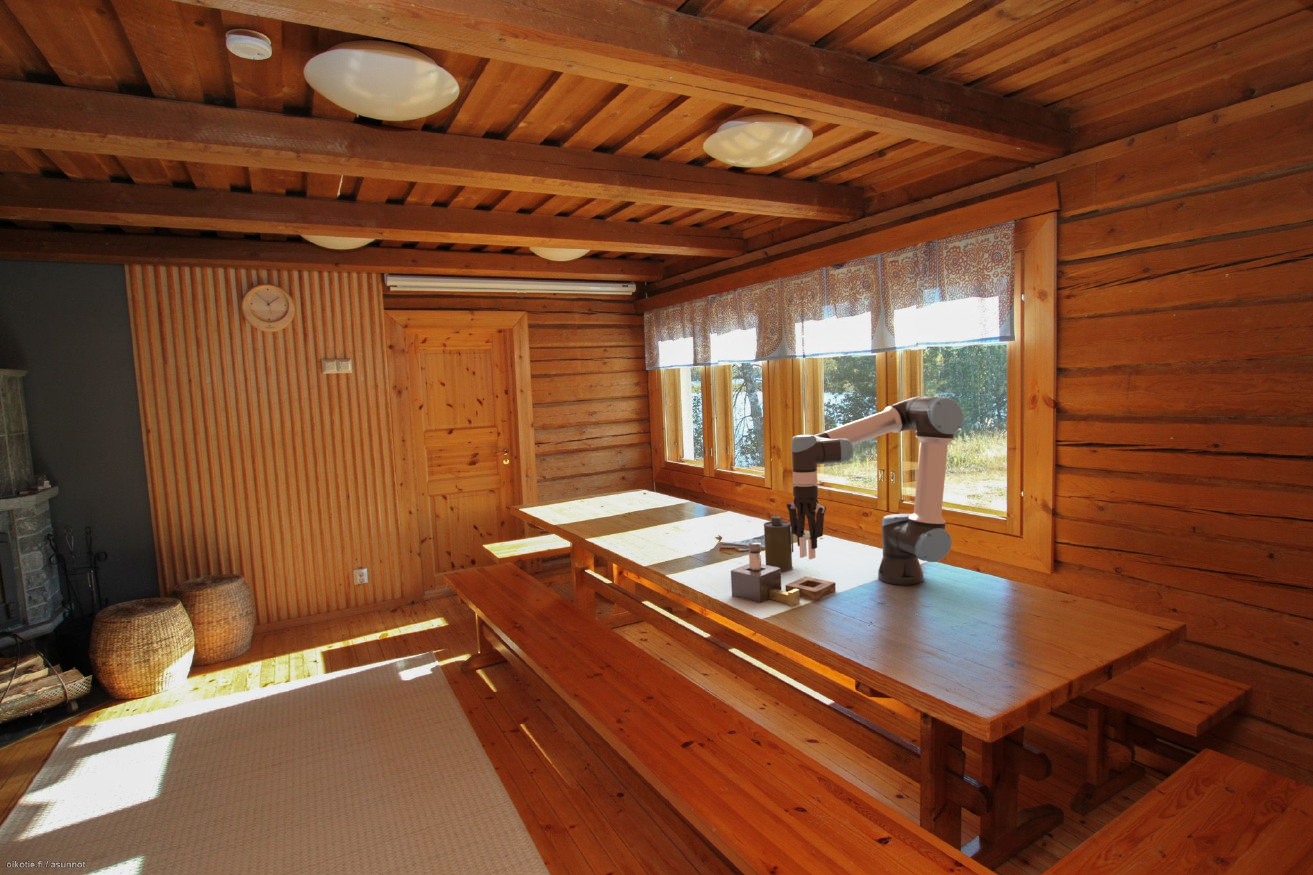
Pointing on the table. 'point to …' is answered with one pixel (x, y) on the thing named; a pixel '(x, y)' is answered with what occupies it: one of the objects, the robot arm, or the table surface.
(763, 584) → the socket block
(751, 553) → the pink cylindrical peg
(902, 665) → the table surface
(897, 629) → the table surface
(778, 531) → the canister
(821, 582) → the brown flat square frame
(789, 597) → the yellow notched block
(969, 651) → the table surface
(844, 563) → the table surface
